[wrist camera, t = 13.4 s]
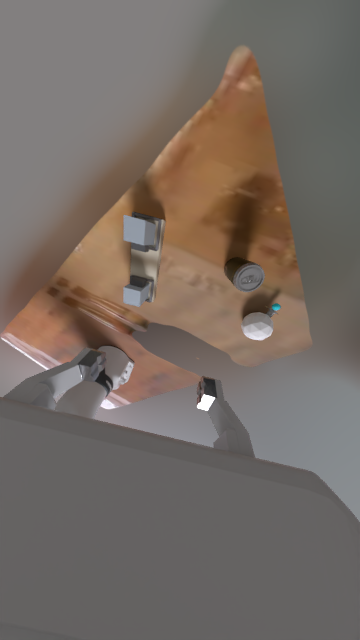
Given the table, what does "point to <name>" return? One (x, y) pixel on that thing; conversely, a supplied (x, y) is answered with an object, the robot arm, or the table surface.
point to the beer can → (244, 274)
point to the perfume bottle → (259, 324)
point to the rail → (148, 256)
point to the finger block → (139, 233)
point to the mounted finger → (136, 291)
